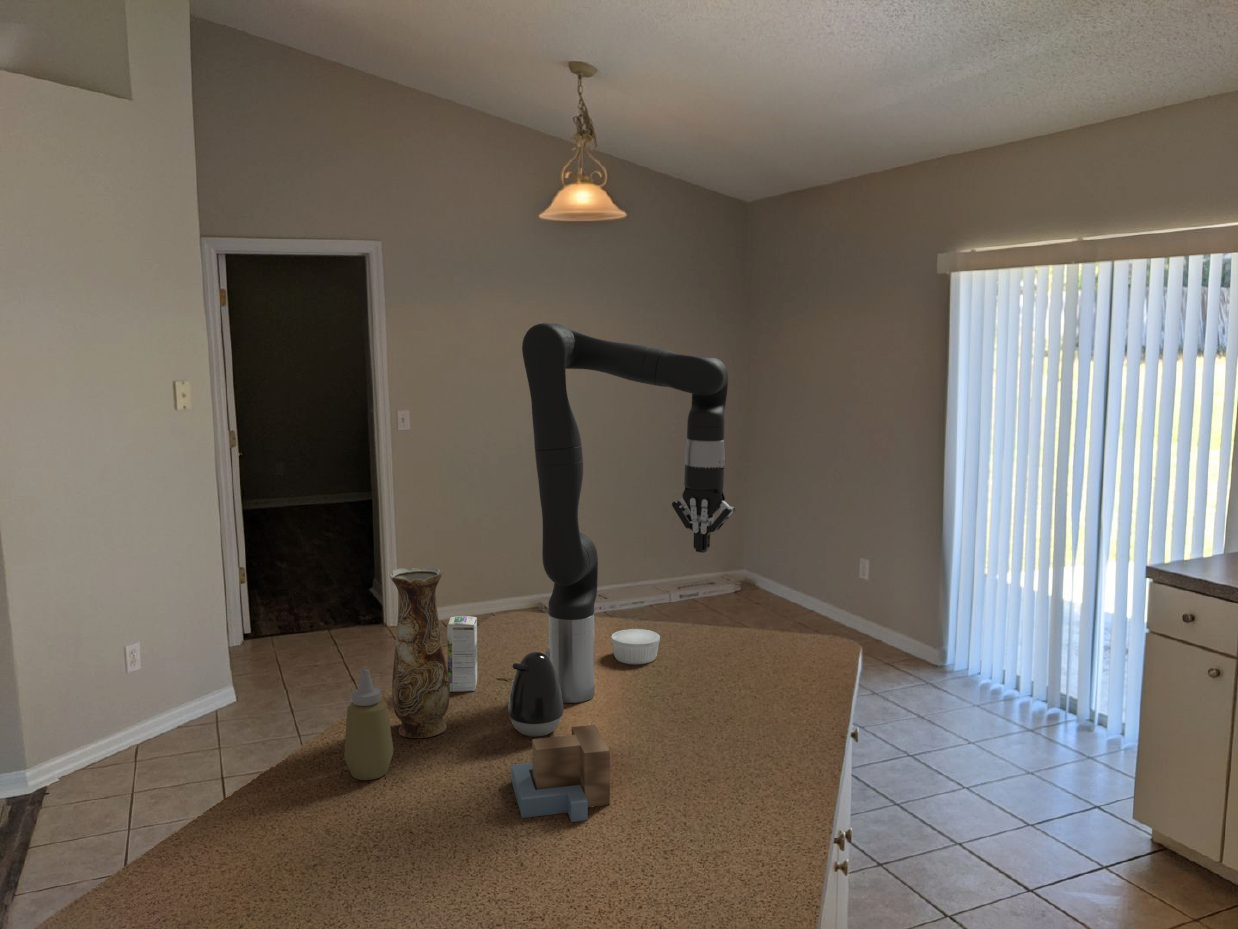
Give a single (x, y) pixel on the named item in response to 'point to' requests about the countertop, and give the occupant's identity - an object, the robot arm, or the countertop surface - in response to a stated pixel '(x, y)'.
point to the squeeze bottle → (368, 732)
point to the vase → (419, 655)
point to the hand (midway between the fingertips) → (701, 551)
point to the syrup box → (462, 653)
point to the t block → (574, 763)
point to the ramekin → (635, 646)
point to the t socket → (546, 796)
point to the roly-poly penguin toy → (535, 696)
